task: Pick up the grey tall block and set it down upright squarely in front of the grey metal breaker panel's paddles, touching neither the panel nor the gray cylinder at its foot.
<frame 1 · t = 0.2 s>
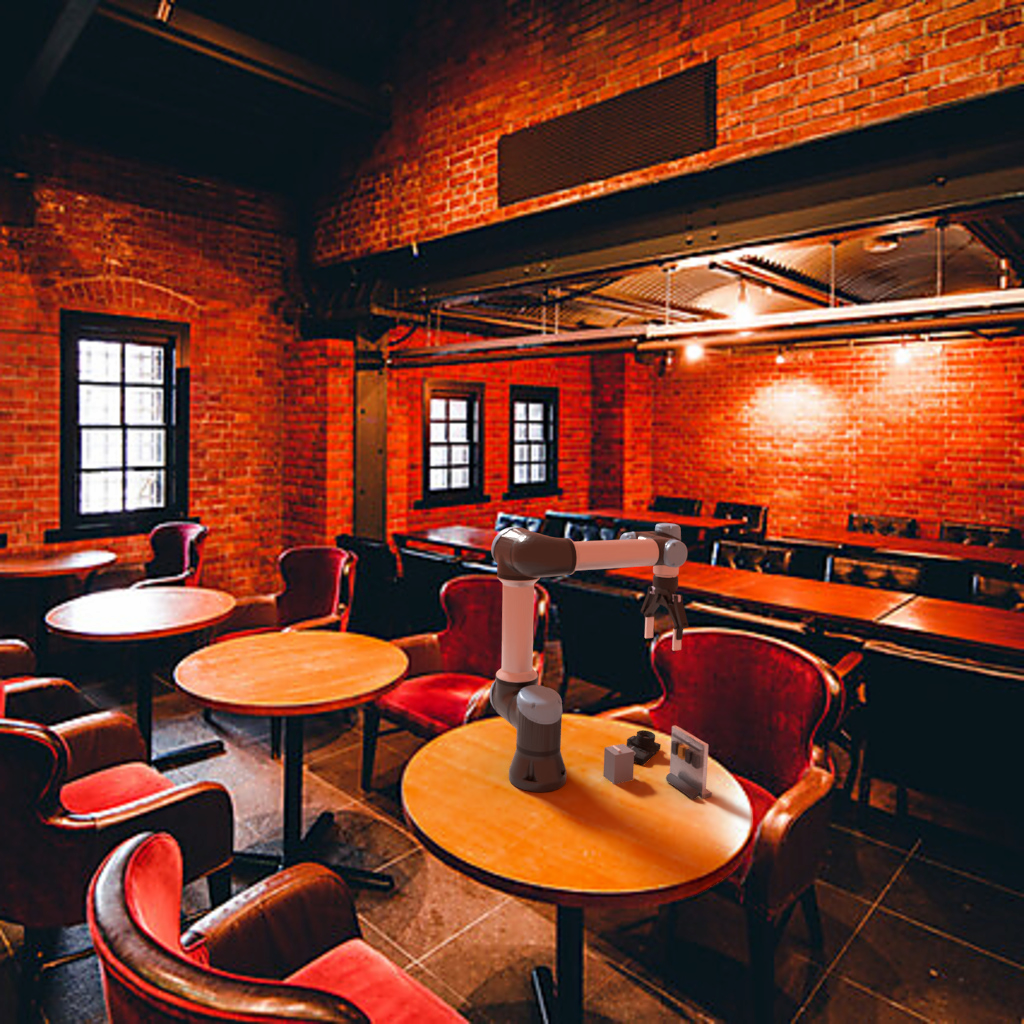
hand: (662, 643, 222), 28 cm above the table, fingers open, 13 cm apart
grey tall block: (618, 778, 194), on the table
film camera: (640, 755, 209), on the table
breaker panel: (686, 786, 191), on the table
gray cylinder: (681, 790, 189), on the table
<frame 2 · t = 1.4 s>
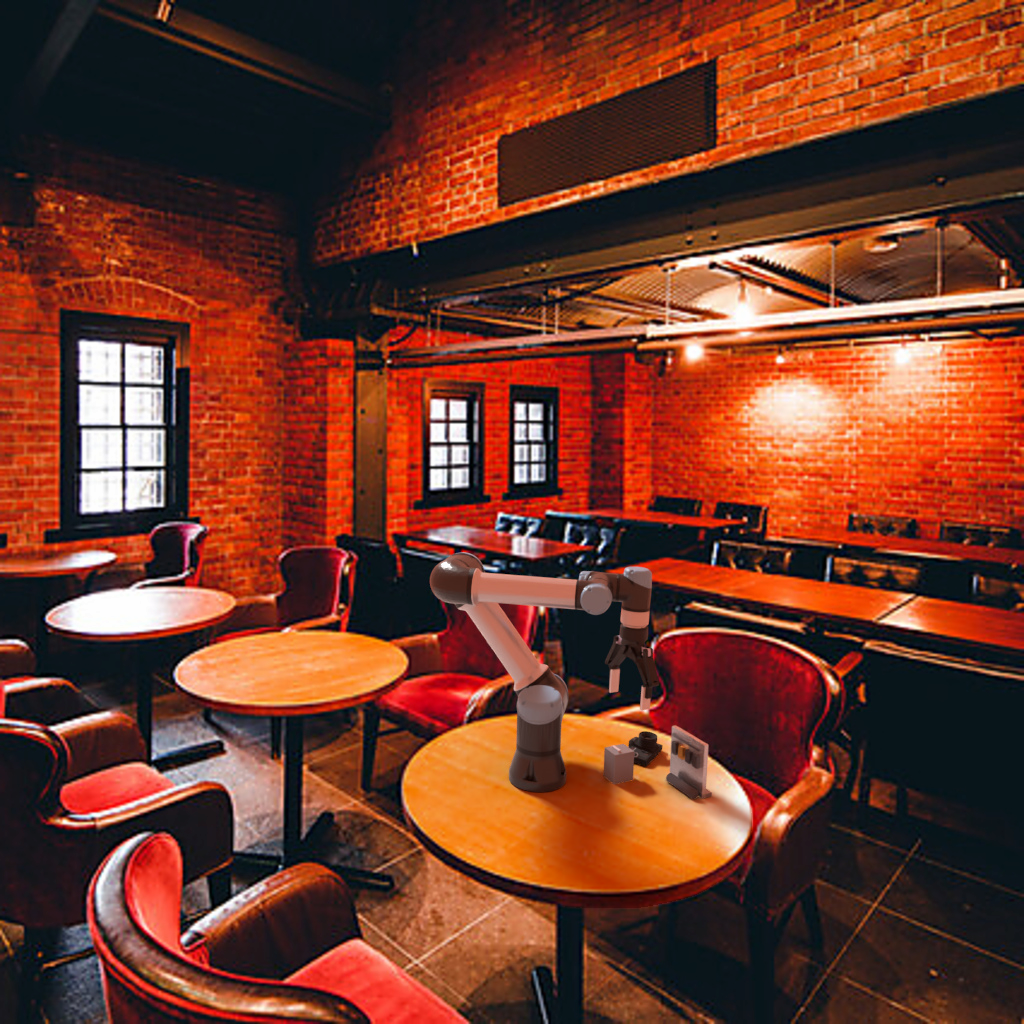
hand: (628, 700, 200), 19 cm above the table, fingers open, 13 cm apart
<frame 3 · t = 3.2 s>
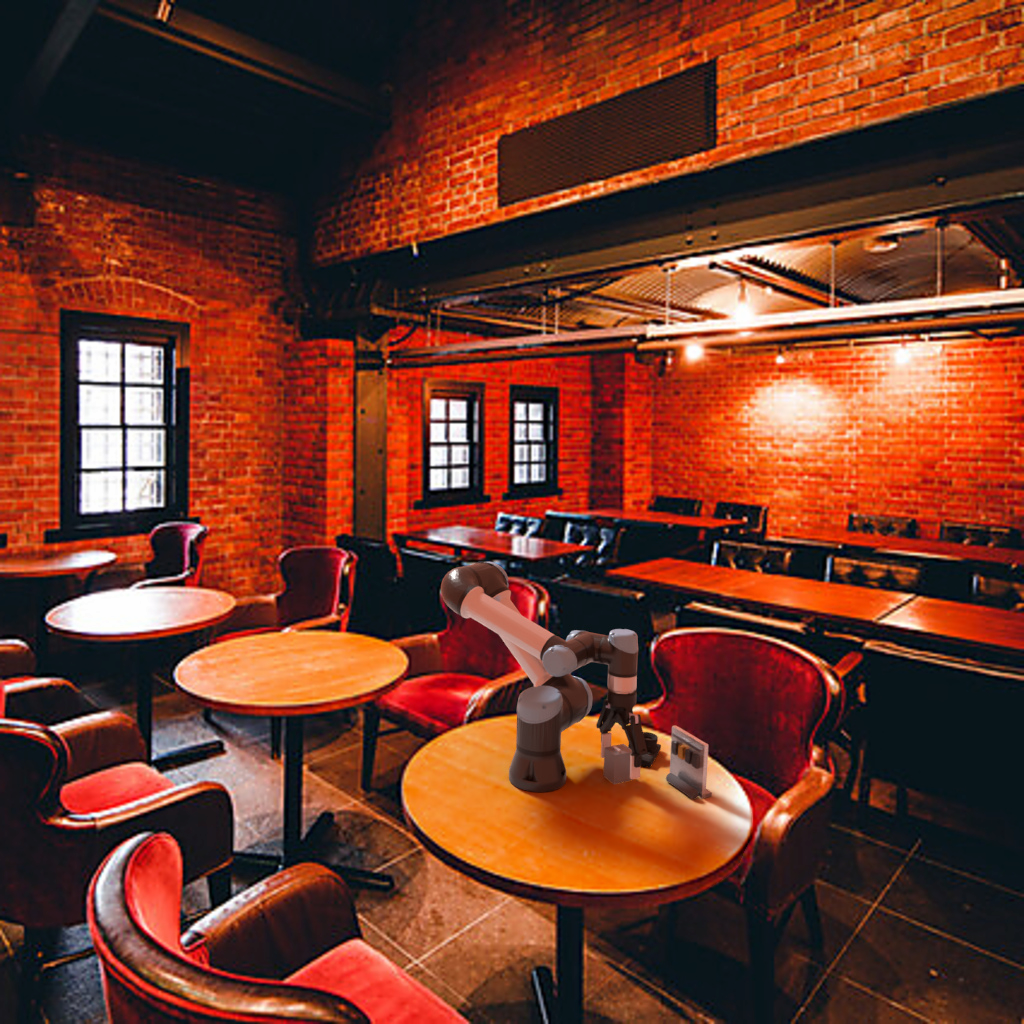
hand: (619, 767, 194), 3 cm above the table, fingers open, 13 cm apart
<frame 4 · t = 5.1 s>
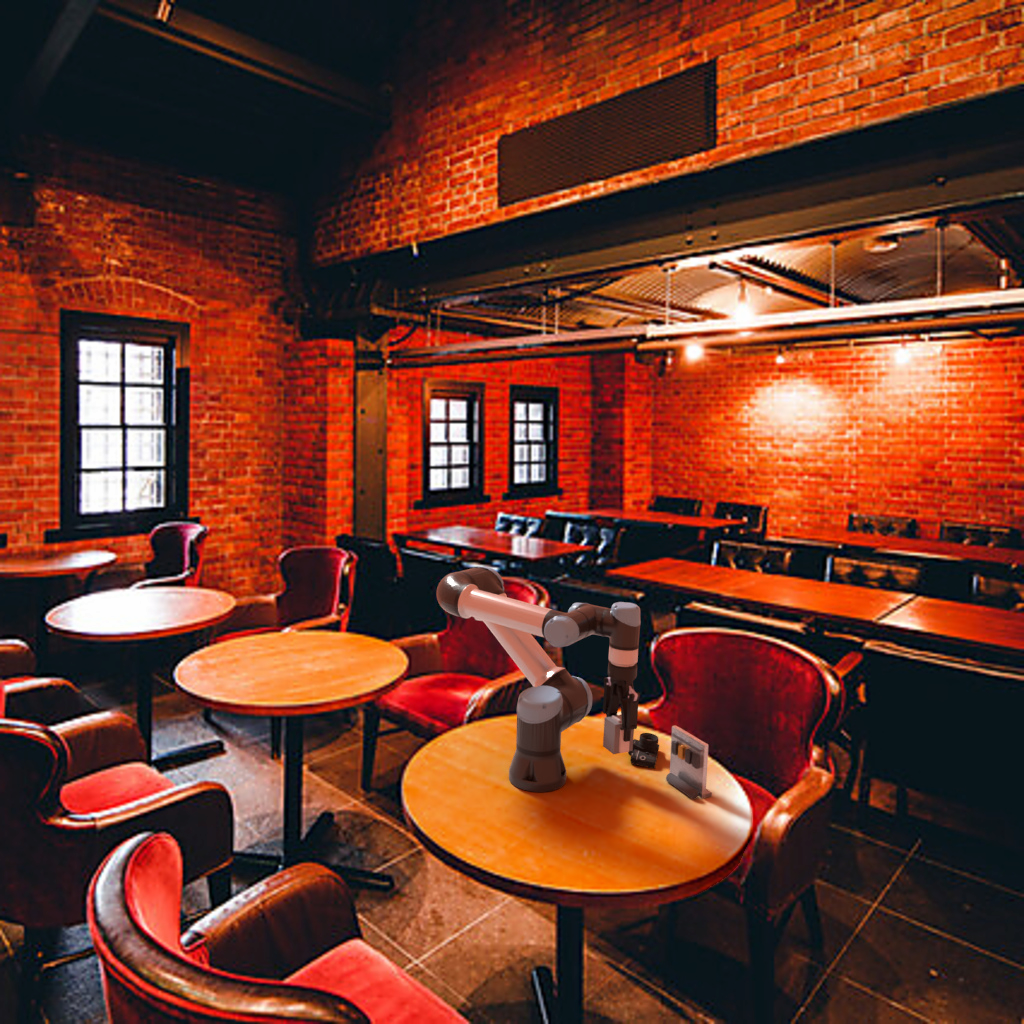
hand: (617, 747, 194), 8 cm above the table, fingers closed on grey tall block, 5 cm apart
grey tall block: (617, 748, 194), point 8 cm above the table, touching gripper
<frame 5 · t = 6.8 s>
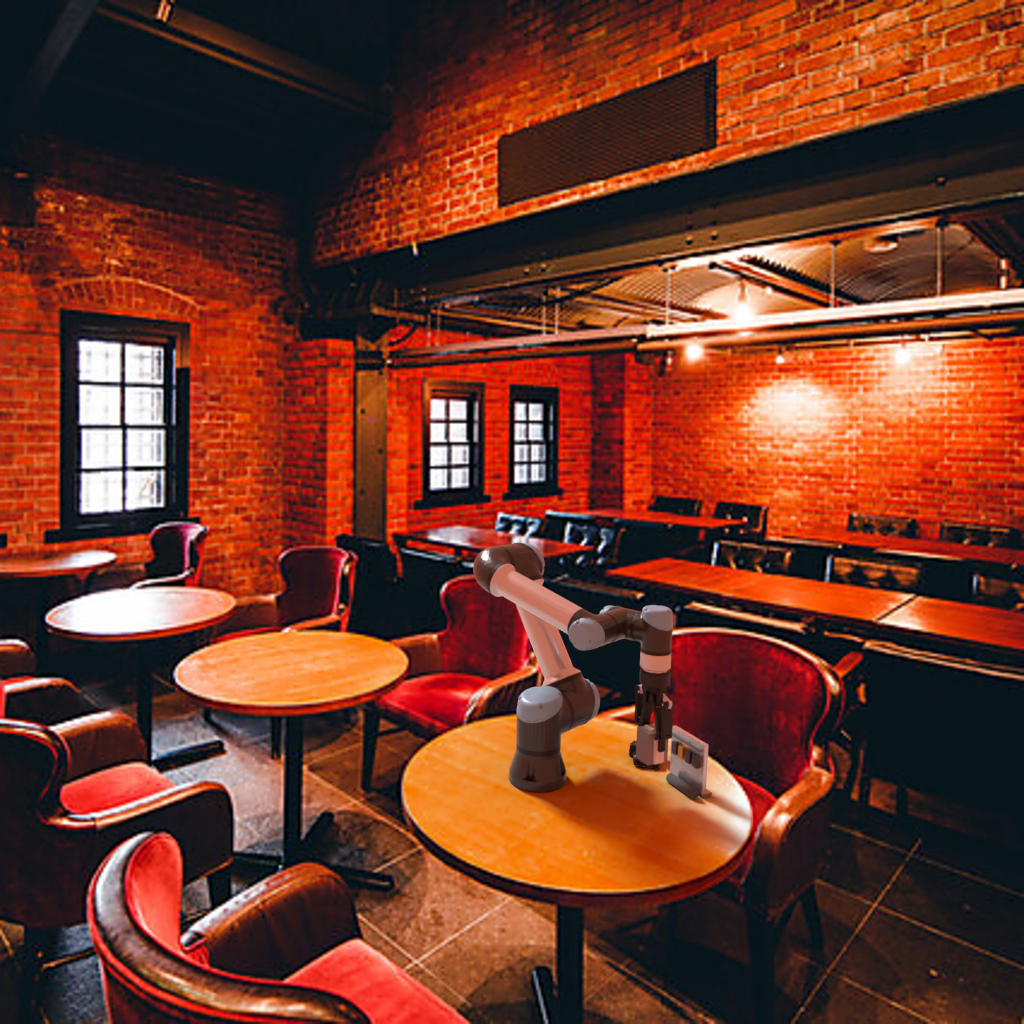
hand: (651, 758, 184), 10 cm above the table, fingers closed on grey tall block, 5 cm apart
grey tall block: (651, 759, 184), point 10 cm above the table, touching gripper
when the fingers open (1 cm above the table, at t = 8.6 s): grey tall block stays where it is, on the table.
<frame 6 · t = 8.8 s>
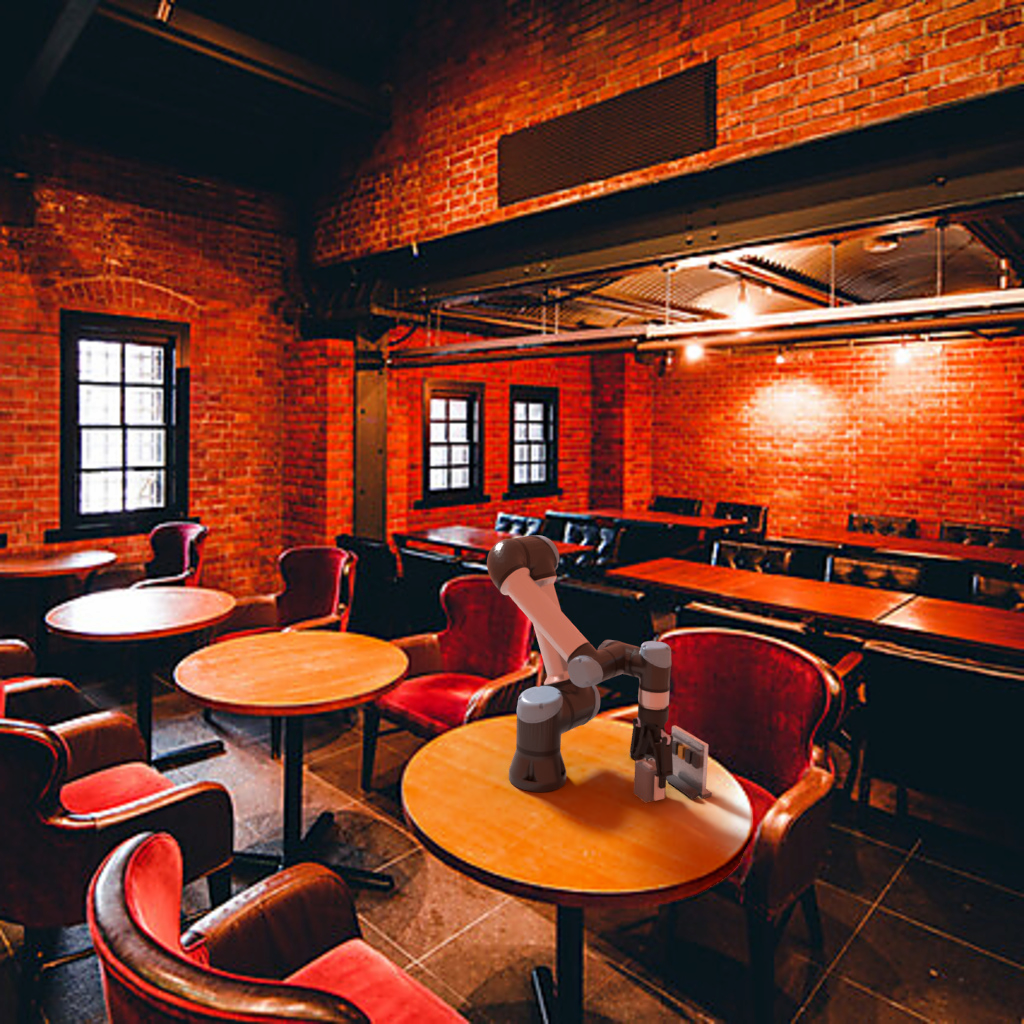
hand: (649, 791, 185), 1 cm above the table, fingers open, 7 cm apart
grey tall block: (649, 795, 185), on the table
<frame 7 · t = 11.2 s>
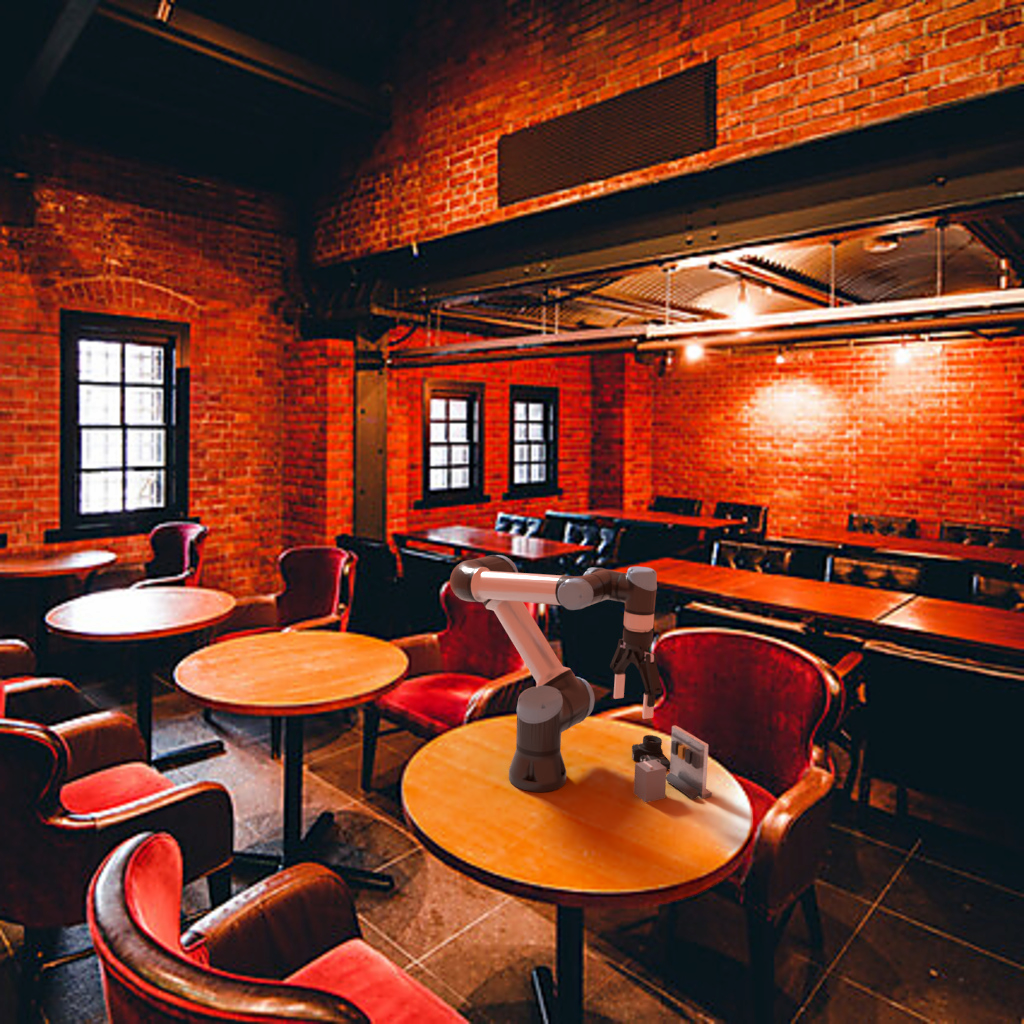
hand: (632, 707, 189), 21 cm above the table, fingers open, 13 cm apart
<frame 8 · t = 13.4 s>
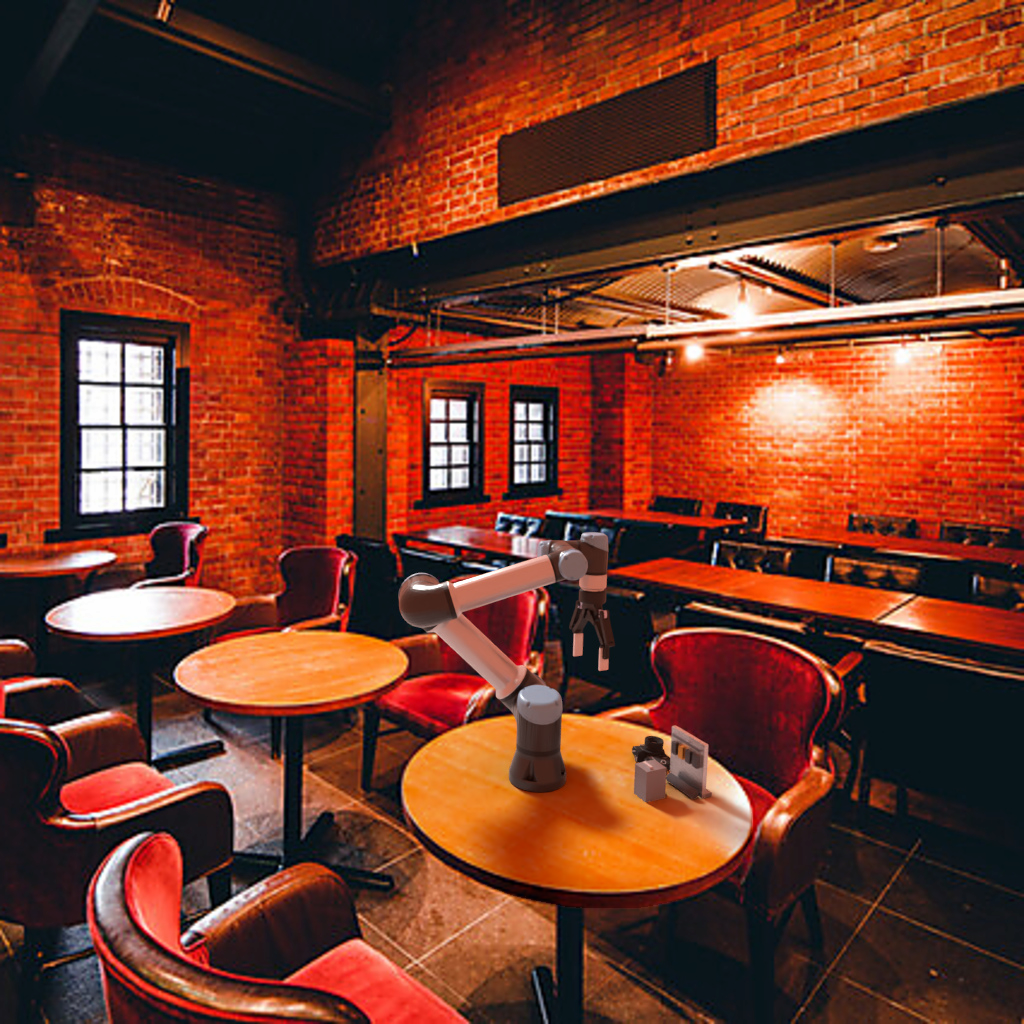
hand: (590, 662, 206), 27 cm above the table, fingers open, 13 cm apart
at the end: grey tall block inside the target area (0.1 cm from its centre), on the table; grey tall block tilted 0°; grey tall block touching table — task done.
